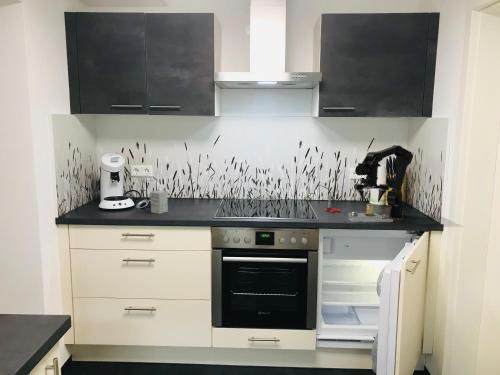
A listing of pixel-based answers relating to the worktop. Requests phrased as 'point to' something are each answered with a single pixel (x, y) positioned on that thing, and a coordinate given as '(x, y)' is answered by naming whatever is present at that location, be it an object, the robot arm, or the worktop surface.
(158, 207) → the supplement box
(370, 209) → the brass pin
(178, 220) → the worktop surface
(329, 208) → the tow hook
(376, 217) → the plate with square hole
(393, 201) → the robot arm
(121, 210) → the worktop surface
